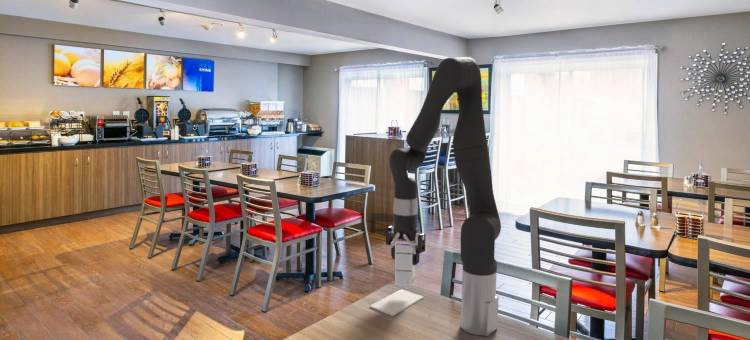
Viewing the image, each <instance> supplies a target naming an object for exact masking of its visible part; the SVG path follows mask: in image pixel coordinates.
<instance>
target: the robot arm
mask: <svg viewBox="0 0 750 340" xmlns="http://www.w3.org/2000/svg"><path fill="white" fill-rule="evenodd" d="M481 74H482V73H481V68H480V66H479V64H478V62H477V60H475V59H474V58H472V57H470V56H453V57H451V56H450V57H447V58H444V59H443V60H441V61H440V62H439V64H438V66H437V67H436V69H435V71H434V74H433V77H432V79H431V83H430V85H429V87H428V91H427V93H426V97H425V98H424V102H423V105H422V107H421V109H420V111H419V113H418V115H417V117H416V119H415V120H414V122H413V124H412V126H411V127H410V129H409V131H408V133H407V135H406V138H405V141H406V143H407V145H408V146H409V147H399V148H395V149H394V150H392V151H391V153H390V154H389V155H390V156H389V159H388V163H389V168H390V172H391V176H392V180H393V183H394V199H393V200H394V201H393V213H392V214H393V218H392V219H393V221H392V223H393V225H388V226H387V227H385V245H387V246H390V256H391V259H392V260H394V261H395V241H396V240H398V239H402V240H406V241H408V243H409V247H410V248H411V247H412V252H413V254H412V264H413V265H415V266H417V265H418V264H419V263H420V254H422V253H424V252H426V237H427V235H426V233H425V232H423V233H419V232H418V230H417V228H418V219H419V218H418V214H419V213H418V211H419V210H418V209H419V208H418V207H419V205H418V204H419V203H418V182H417V180H416V179H415V178H413V177H409V175H408V172H407V171H413V170H417V169H418V168H420V167H421V166H422V165H423V164H424V162H425V159H426V155H427V151H428V147H429V145H430V143H431V142H432V141H433V139H434V137H435V135H436V134H437V132H438V130H439V128H440V125H441V117H442V112H443V109H444V106H445V104H446V103H447V102H448V100H449V99H450V98H451V96H453V95H454V93H455V94H456V97H457V102H458V117H457V120H456V125H455V129H454V132H453V133H454V134H453V136H452V137H453V138H452V149H453V150H452V151H453V155H454V162H455V168H456V171H457V173H458V176H459V178H460V179H461V182H462V184H463V187H464V188H465V191H466V194H467V199H468V211H469V216H468V217H466V219H464V221H463V223H462V225H461V227H460V260H461V263H462V270H461V271H462V276H461V278H462V279H461V306H460V307H461V310H460V311H461V314H460V327H461V329H462V330H463V331H464V332H465V333H468V334H470V335H473V336H483V337H489V336H490V335H491V334H492V333H494V332H496V330H497V329H498V322H499V321H498V319H499V318H498V317H499V300H500V299H499V296H497V294H496V293H497V272H498V270H497V269H498V261H497V260H496V258H495V245H496V240H497V239H498V238H499V236H500V234H501V231H502V230H501V229H502V224H501V218H500V215H499V211H498V207H497V203H496V199H495V194H494V188H493V177H492V168H491V161H490V159H491V158H490V151H489V144H488V138H487V134H486V133H487V132H486V124H485V117H484V108H483V93H482V92H483V91H482V88H483V87H482V75H481ZM394 235H395V236H394ZM411 241H414V244H413V245H412V244H411Z"/></svg>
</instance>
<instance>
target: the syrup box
mask: <svg viewBox="0 0 750 340" xmlns="http://www.w3.org/2000/svg"><path fill="white" fill-rule="evenodd" d="M411 244H412V245H413V244H414V241H411ZM412 254H413V252H412V247H411V248H410V247H409V243H408V241H406V240H402V239H398V240H396V241H395V260H394V285H395V286H404V287H413V285H414V283H415V280H416V265H413V264H412Z"/></svg>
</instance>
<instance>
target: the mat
mask: <svg viewBox="0 0 750 340" xmlns="http://www.w3.org/2000/svg"><path fill="white" fill-rule="evenodd" d="M424 297H425V296H423V295H420V294H417V293H414V292H412V291H408V290H406V289H405V290H404V289H402V288H401V289H399V290H397V291H395V292H393V293H391V294H390V295H387V296H386V297H384V298H382V299H380V300H378V301H376V302H374V303H372V304H370V305H369V308H371V309H374V310H375V311H379V312H381V313H384V314H386V315H389V316H392V317H394V316H395V315H397V314H399V313H401V312H402V311H404V310H406V309H407V308H409V307H411V306H413V305H414V304H416V303H418V302H420V301H421V300H423V299H424Z"/></svg>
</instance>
